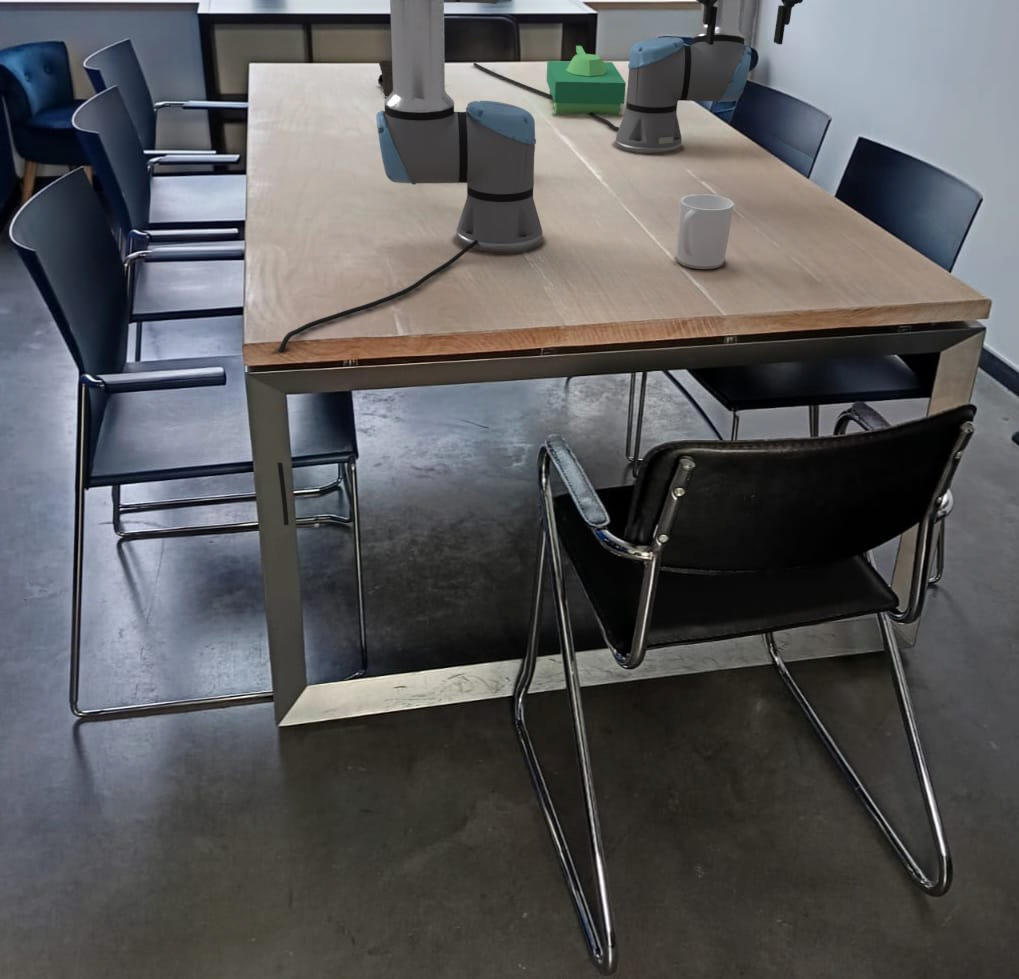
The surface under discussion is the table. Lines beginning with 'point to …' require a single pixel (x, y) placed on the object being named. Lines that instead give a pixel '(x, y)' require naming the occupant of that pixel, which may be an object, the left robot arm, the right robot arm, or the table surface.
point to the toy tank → (585, 85)
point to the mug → (703, 230)
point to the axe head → (386, 77)
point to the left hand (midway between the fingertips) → (418, 140)
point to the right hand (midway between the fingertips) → (743, 43)
